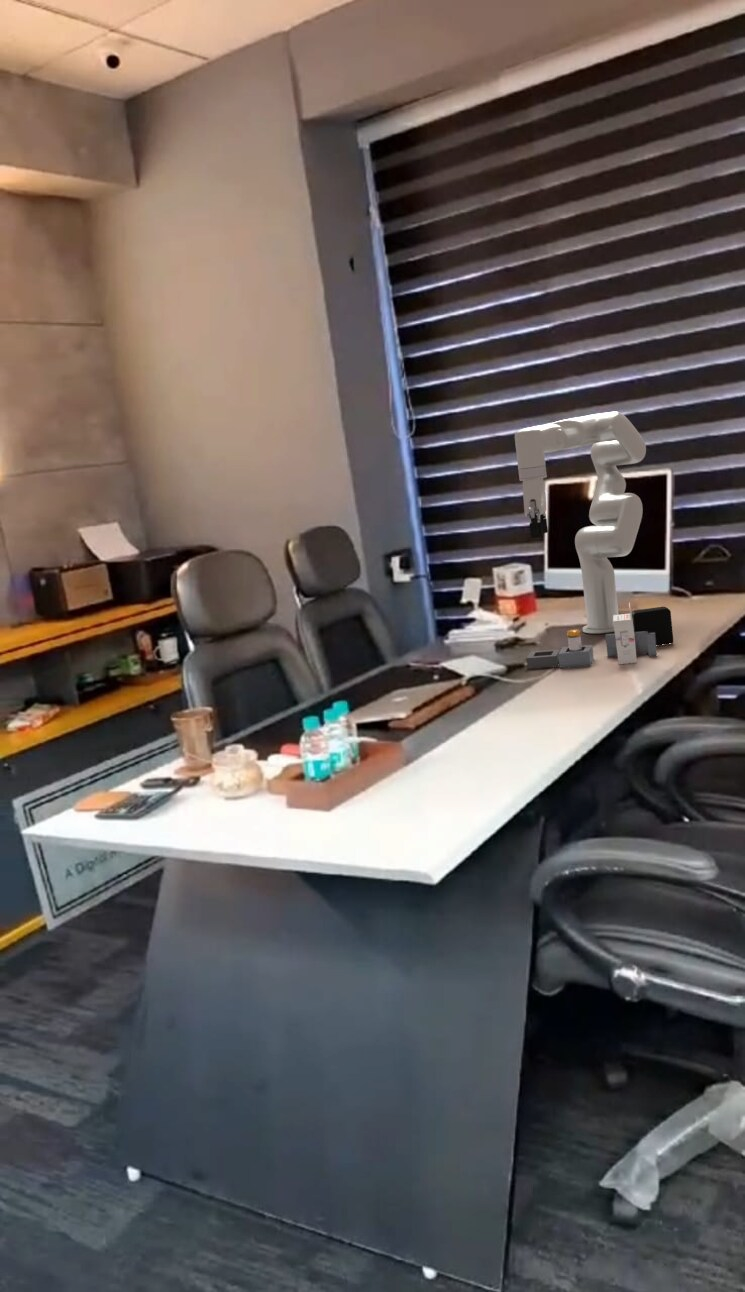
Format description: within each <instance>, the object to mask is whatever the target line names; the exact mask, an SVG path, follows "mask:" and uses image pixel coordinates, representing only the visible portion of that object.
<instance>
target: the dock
mask: <svg viewBox="0 0 745 1292" xmlns="http://www.w3.org/2000/svg"><path fill="white" fill-rule="evenodd" d="M634 637H635V647H636V656H638V655H637V654H642V655H648V657H649V656H655V657H657V656H658V650H657V647H656V638H655V633H648V631H641V632H634ZM605 643H606V644H605V645H606V653H607V654H606V655H607V658H613V657H618V655H617V647H616V639H615V633H605ZM593 648H594V647H593V644H585V645H582V651H571V652H569V646H562V648H561V649H560V652H559V662H560V663H559V669H569V668H568V667H574V668H581V667H580V666H588V667H592V665H591V664H593V662H594V659H595V657H594V649H593ZM647 653H649V654H647ZM656 655H657V656H656Z"/></svg>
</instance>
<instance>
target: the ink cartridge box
mask: <svg viewBox="0 0 745 1292" xmlns="http://www.w3.org/2000/svg"><path fill="white" fill-rule="evenodd" d="M628 608H629V609H628V610H629V613H623V614H618V615H613V624H614V634H615V639H616V647H617V655H618V656H617V661H618V663H617V664H618V665H627V664H628V665H629V663H630V664H636V663H638V661H637V660H638V659H637V655H636V647H635V637H634V628H633V620H632V609H631V602H628Z"/></svg>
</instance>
